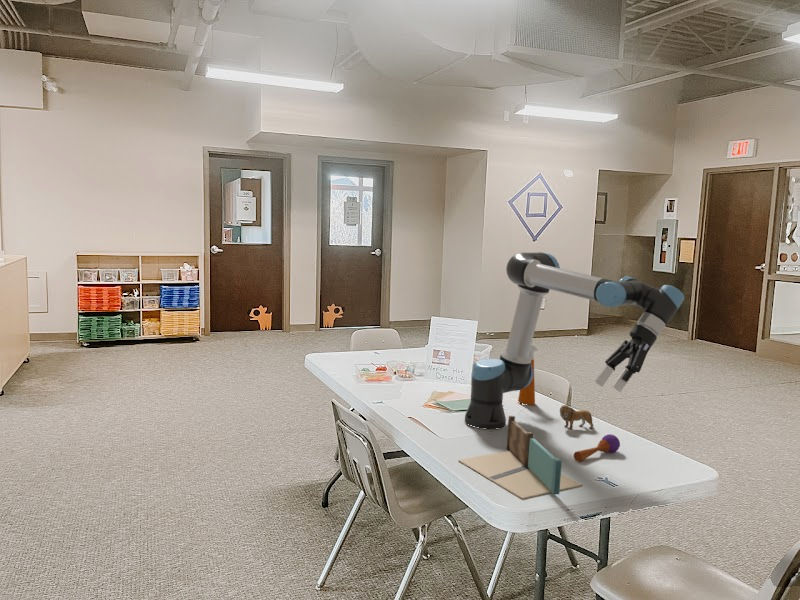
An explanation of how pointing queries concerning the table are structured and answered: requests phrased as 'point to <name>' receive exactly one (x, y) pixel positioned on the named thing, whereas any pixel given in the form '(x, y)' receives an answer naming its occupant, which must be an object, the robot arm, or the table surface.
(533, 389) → the spray bottle
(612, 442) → the purple and orange maraca
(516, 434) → the fence frame
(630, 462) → the table surface
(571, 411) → the lion figurine
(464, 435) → the table surface
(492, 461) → the mat
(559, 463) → the fence gate
